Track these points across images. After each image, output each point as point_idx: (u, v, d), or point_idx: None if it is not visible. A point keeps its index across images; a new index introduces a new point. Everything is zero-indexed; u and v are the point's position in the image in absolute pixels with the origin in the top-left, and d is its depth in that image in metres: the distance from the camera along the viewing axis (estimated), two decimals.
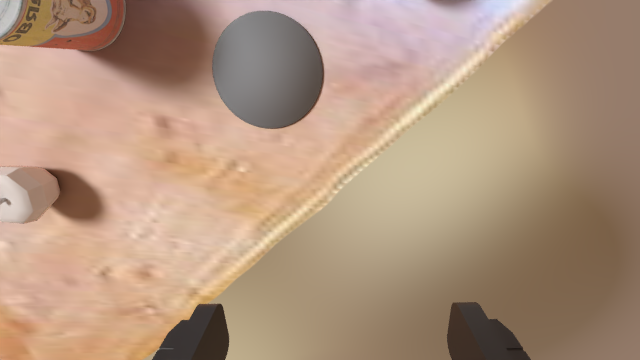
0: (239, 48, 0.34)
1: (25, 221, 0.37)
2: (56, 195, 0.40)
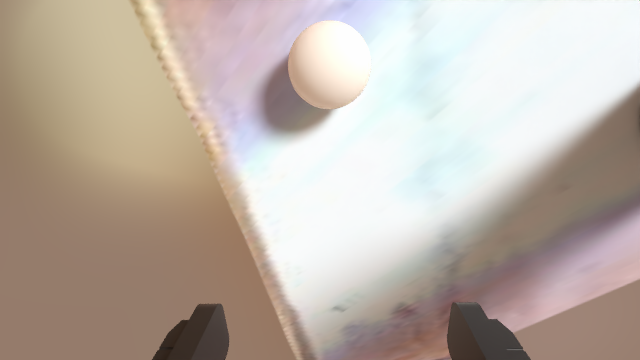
0: None
1: None
2: None
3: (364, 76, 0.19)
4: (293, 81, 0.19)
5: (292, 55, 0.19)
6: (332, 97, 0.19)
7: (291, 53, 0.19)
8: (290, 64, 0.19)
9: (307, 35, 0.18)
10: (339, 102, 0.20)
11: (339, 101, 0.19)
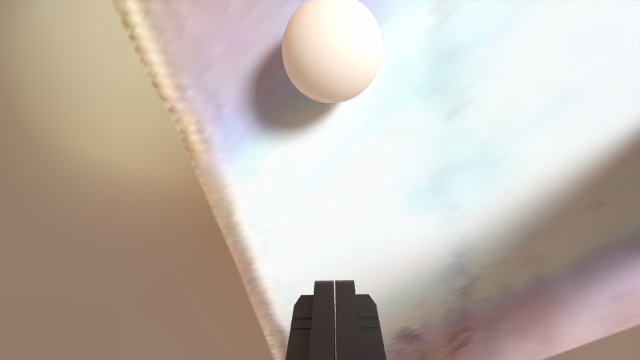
0: None
1: None
2: None
3: (374, 64, 0.16)
4: (287, 66, 0.16)
5: (286, 34, 0.15)
6: (334, 88, 0.15)
7: (285, 32, 0.16)
8: (284, 46, 0.16)
9: (305, 9, 0.15)
10: (342, 95, 0.16)
11: (342, 93, 0.16)
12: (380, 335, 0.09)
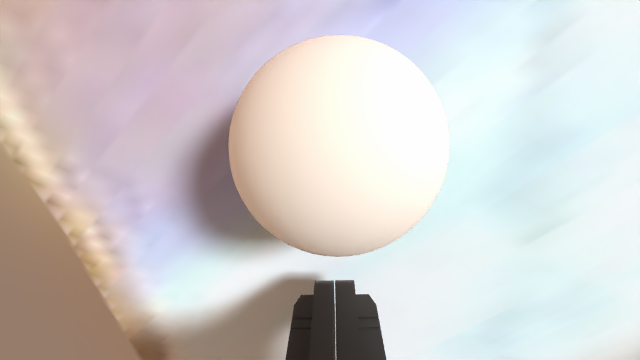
0: None
1: None
2: None
3: (434, 199, 0.07)
4: (238, 190, 0.07)
5: (234, 127, 0.07)
6: (341, 253, 0.07)
7: (234, 119, 0.07)
8: (230, 148, 0.07)
9: (278, 77, 0.06)
10: (358, 254, 0.07)
11: (357, 254, 0.07)
12: (380, 335, 0.09)
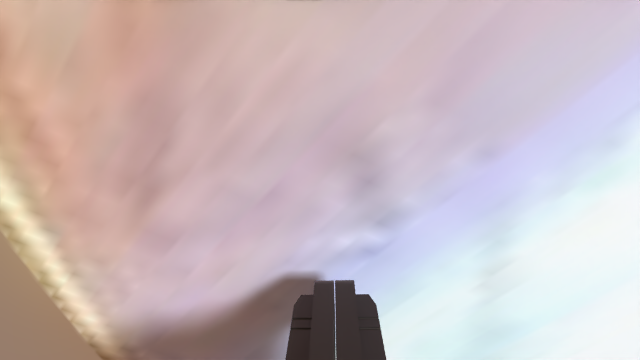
0: None
1: None
2: None
3: None
4: None
5: None
6: None
7: None
8: None
9: None
10: None
11: None
12: (380, 335, 0.09)
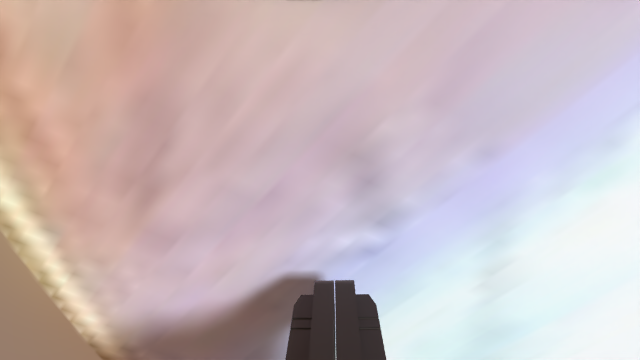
0: None
1: None
2: None
3: None
4: None
5: None
6: None
7: None
8: None
9: None
10: None
11: None
12: (380, 335, 0.09)
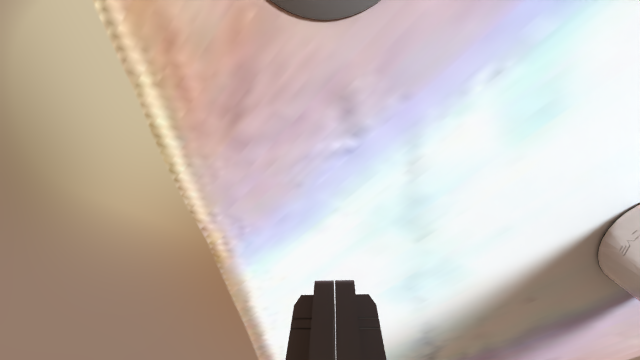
0: None
1: None
2: None
3: None
4: None
5: None
6: None
7: None
8: None
9: None
10: None
11: None
12: (380, 335, 0.09)
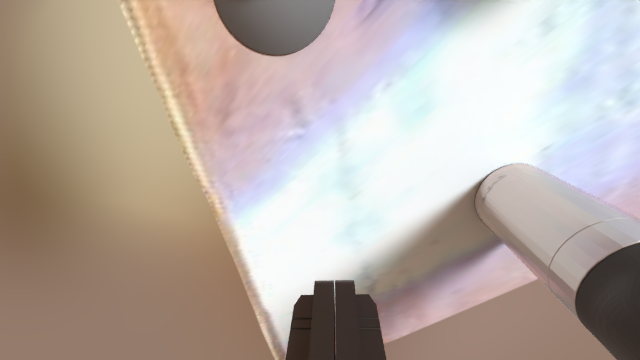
0: None
1: None
2: None
3: None
4: None
5: None
6: None
7: None
8: None
9: None
10: None
11: None
12: (380, 335, 0.09)
